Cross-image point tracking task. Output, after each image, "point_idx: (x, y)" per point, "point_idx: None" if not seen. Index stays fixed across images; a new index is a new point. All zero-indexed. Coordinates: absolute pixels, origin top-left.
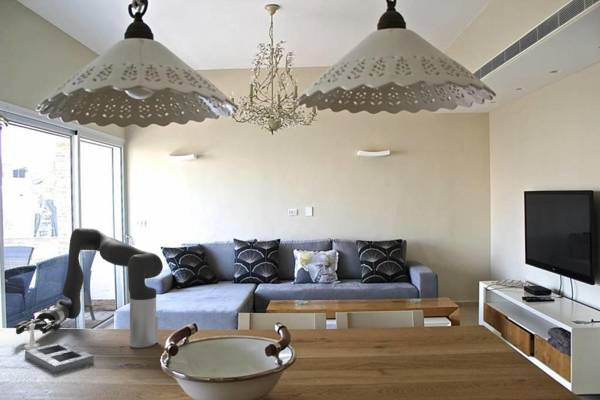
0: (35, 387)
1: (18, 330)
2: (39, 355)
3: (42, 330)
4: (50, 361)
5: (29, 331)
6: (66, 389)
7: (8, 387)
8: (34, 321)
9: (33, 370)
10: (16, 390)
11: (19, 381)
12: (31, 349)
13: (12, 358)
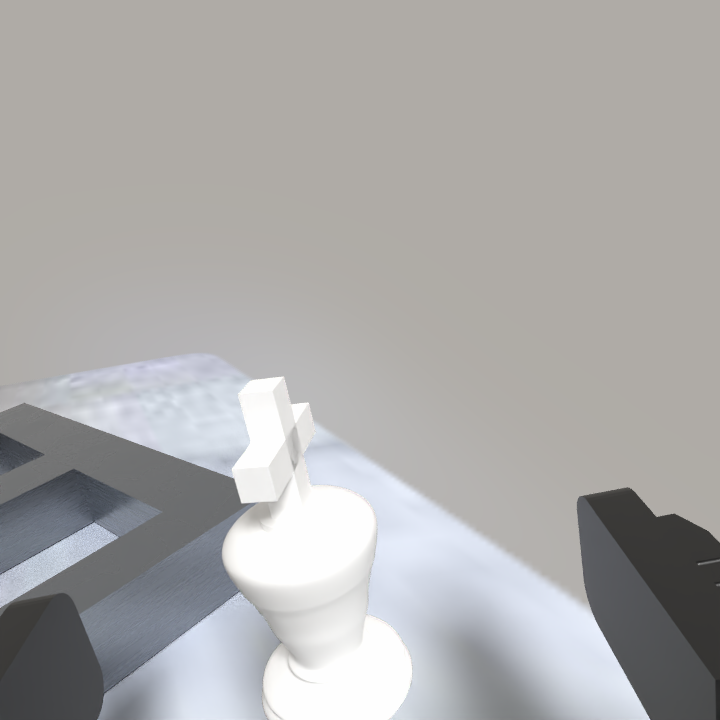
0: (117, 382)
1: (584, 523)
2: (117, 454)
3: (79, 627)
4: (44, 422)
5: (370, 616)
6: (8, 395)
7: (217, 365)
8: (241, 498)
9: (154, 448)
10: (180, 364)
11: (191, 389)
12: (215, 515)
13: (398, 534)
